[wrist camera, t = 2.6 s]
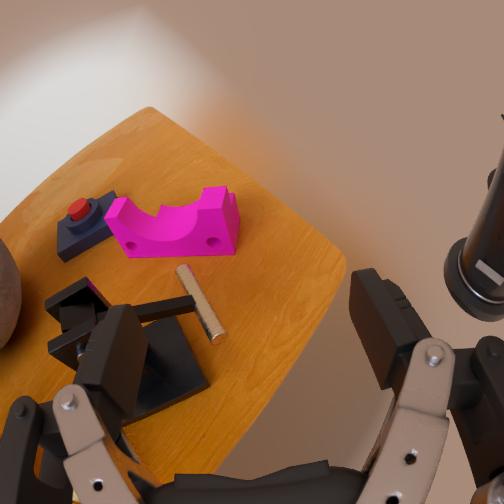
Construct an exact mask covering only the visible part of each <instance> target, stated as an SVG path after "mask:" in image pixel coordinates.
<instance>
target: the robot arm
mask: <svg viewBox="0 0 504 504" xmlns="http://www.w3.org/2000/svg"><path fill="white" fill-rule="evenodd" d="M501 117H502V118H503V120H504V115H503V114H502V115H501ZM457 270H458V273H459V276H460V279H461V281H462V282H463V284H464V286H465V287H466V288H467V290H468V291H469V292H470V293H471V294H472V295H473V296H474V297H476V298H477V299H478V300H480V301H482V302H484V303H486V304H490V305H501V304H504V147H503V150H502V153H501V156H500V160H499V163H498V166H497V168H496V169H494V170H493V171H492V172H491V173H490V175H489V176H488V193H487V195H486V198H485V200H484V203H483V205H482V207H481V210H480V212H479V214H478V217H477V219H476V221H475V224H474V225H473V228H472V230H471V232H470V234H469V236H468V238H467V240H466V242H465V244H464V246H463V247H462V248H461V250H460V252H459V254H458V257H457ZM349 298H350V299H349V312H350V316H351V320H352V322H353V324H354V326H355V329H356V331H357V333H358V336H359V338H360V340H361V342H362V345H363V347H364V349H365V352H366V354H367V356H368V359H369V361H370V363H371V366H372V368H373V371H374V373H375V375H376V378H377V380H378V383H379V385H380V388H381V390H384V389H388V388H391V387H392V389H393V392H394V397H393V399H392V402H391V405H390V407H389V410H388V413H387V415H386V418H385V421H384V423H383V426H382V428H381V431H380V433H379V435H378V438H377V440H376V442H375V444H374V447H373V448H372V450H371V452H370V454H369V456H368V458H367V460H366V462H365V464H364V466H363V468H362V470H361V472H359V471H357V470H354V469H349V468H345V467H336V466H331V467H330V466H329V464H328V460H323V461H318V462H314V463H308V464H303V465H297V466H291V467H287V468H285V469H283V470H280V471H277V472H274V473H272V474H269V475H266V476H263V477H260V478H257V479H254V480H241V479H235V478H229V477H224V476H218V475H213V474H175V477H174V481H173V482H170V483H167V484H164V485H162V484H161V482H160V481H159V480H158V479H157V478H156V477H155V476H154V475H153V474H152V473H151V472H150V471H149V470H148V468H147V467H146V466H145V464H144V463H143V461H142V460H141V458H140V457H139V455H138V454H137V452H136V450H135V449H134V447H133V446H132V444H131V442H130V441H129V439H128V437H127V436H126V434H125V432H124V431H123V429H122V428H121V423H122V420H131V421H133V419H134V413H135V407H136V402H137V396H138V391H139V386H140V381H141V376H142V371H143V366H144V361H145V357H146V352H147V346H148V343H147V336H146V333H145V331H144V329H143V327H142V325H141V323H140V321H139V319H138V317H137V315H136V313H135V311H134V309H133V307H132V306H131V305H130V304H123V305H114V306H110V307H109V309H108V312H107V314H106V317H105V319H104V320H101V321H100V322H99V323H98V324H97V326H96V327H95V328H94V329H93V331H92V333H91V335H90V338H89V340H88V342H89V343H87V345H86V348H85V352H84V353H83V356H82V359H81V361H80V364H79V367H78V369H77V372H76V375H75V378H74V381H73V383H72V384H71V385H67V386H65V387H63V388H62V389H60V390H59V391H58V393H57V394H56V395H55V397H54V400H53V401H49V402H45V403H41V404H37V403H36V402H35V401H34V400H33V399H32V398H31V397H29V396H22V397H19V398H18V399H17V400H15V402H14V403H13V404H12V406H11V408H10V411H9V414H8V417H7V420H6V423H5V427H4V430H3V434H2V437H1V441H0V504H72V501H73V489H74V491H75V493H76V495H77V497H78V499H79V501H80V503H81V504H424V503H425V501H426V498H427V496H428V493H429V491H430V488H431V485H432V482H433V480H434V477H435V474H436V471H437V468H438V465H439V462H440V458H441V455H442V452H443V448H444V444H445V441H446V437H447V433H448V428H449V418H447V417H446V410H449V409H450V411H451V414H452V416H453V419H454V422H455V424H456V427H457V429H458V432H459V435H460V438H461V440H462V443H463V446H464V449H465V452H466V455H467V458H468V461H469V464H470V467H471V470H472V474H473V477H474V481H475V484H476V488H477V490H476V491H475V493H474V495H473V497H472V499H471V503H470V504H504V341H503V340H501V339H500V338H498V337H495V336H486V337H483V338H481V339H480V340H479V342H478V343H477V345H476V347H475V348H467V349H452V348H451V346H450V345H449V344H448V343H446V342H445V341H443V340H441V339H437V338H433V337H432V336H431V334H430V333H429V331H428V330H427V328H426V326H425V325H424V323H423V322H422V320H421V319H420V317H419V316H418V314H417V313H416V311H415V309H414V308H413V307H412V306H411V303H410V302H409V301H408V299H406V296H405V295H404V293H403V292H402V290H401V289H400V287H399V286H397V285H396V284H394V283H393V282H391V281H390V280H389V279H386V280H382V279H381V278H380V276H379V275H378V274H377V272H376V270H375V269H374V268H369V269H363V270H359V271H353V272H352V275H351V286H350V297H349ZM38 445H39V446H40V447H41V448H43V449H44V452H43V457H42V462H41V468H40V474H39V479H37V478H36V476H35V474H34V470H33V467H34V462H35V457H36V452H37V447H38Z"/></svg>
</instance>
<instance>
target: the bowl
mask: <svg viewBox="0 0 504 504" xmlns="http://www.w3.org/2000/svg"><path fill="white" fill-rule="evenodd" d="M21 303H22V286H21V278H20V274H19V271H18V268H17V266H16V263H15V261H14V259H13V257H12V255H11V253H10V252H9V250H8V248H7V247H6V245H5V244H4V243H3V241H2V240H1V239H0V351H1V350H2V348H3V347H4V346H5V345H6V343H7V342H8V340H9V339H10V337H11V335H12V333H13V331H14V329H15V327H16V324H17V321H18V317H19V313H20V309H21Z"/></svg>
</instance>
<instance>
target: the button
mask: <svg viewBox="0 0 504 504" xmlns="http://www.w3.org/2000/svg"><path fill="white" fill-rule="evenodd" d="M90 210H91V207H90V205H89V204H88V202H87V200H86V199H85V198H81V199H78V200H77V201H75V202H74V203H73V204H72V205H71V206H70V207H69V209H68V213H69V215H70V216H71V218H72V219H73V221H78V220H80V219H82V218H84V217H85V216H86V215H87V214H88V213H89V211H90Z"/></svg>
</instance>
